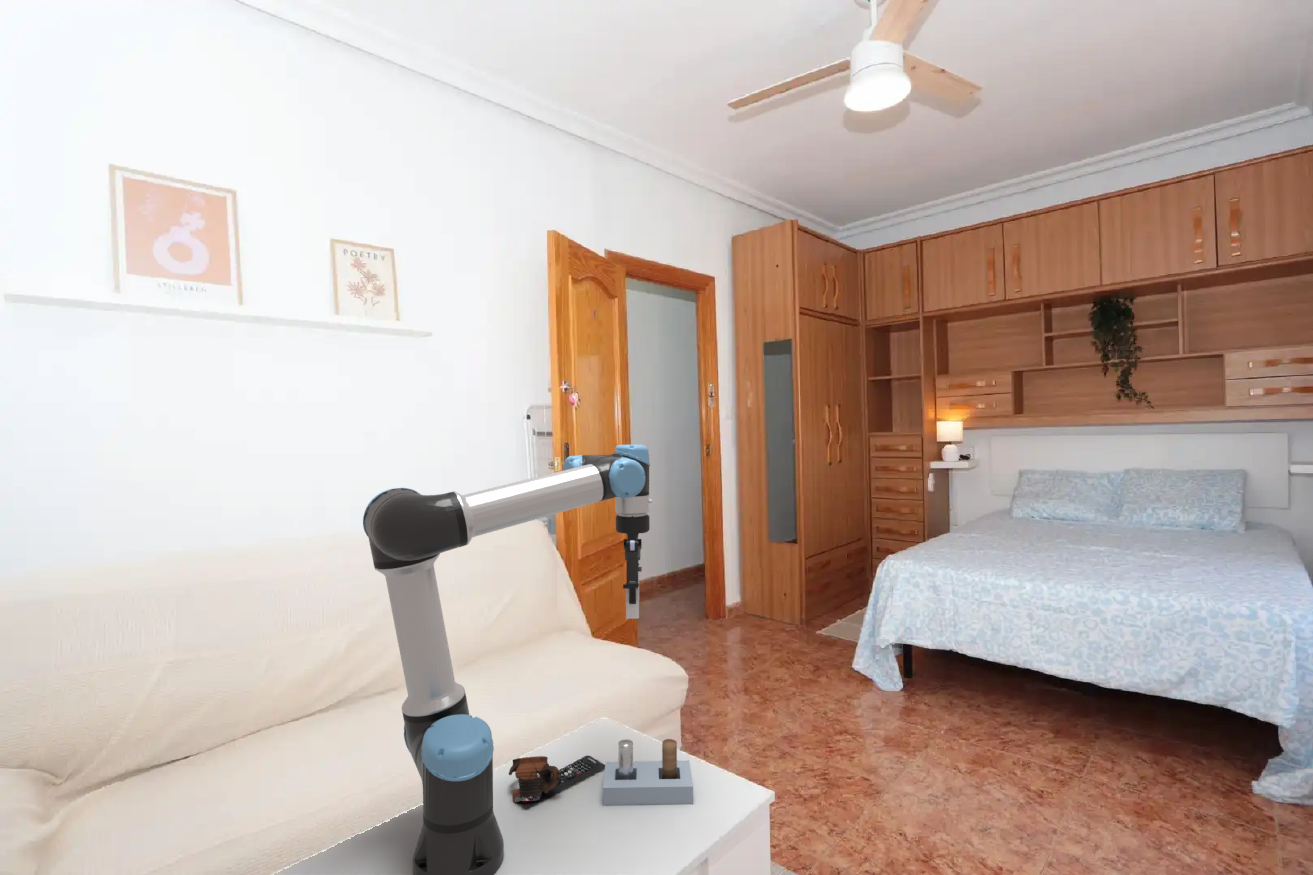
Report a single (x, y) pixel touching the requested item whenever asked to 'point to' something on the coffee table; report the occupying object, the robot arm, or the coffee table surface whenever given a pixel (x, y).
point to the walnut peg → (669, 759)
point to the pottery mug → (533, 776)
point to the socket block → (647, 785)
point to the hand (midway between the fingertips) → (633, 609)
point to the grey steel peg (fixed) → (625, 760)
